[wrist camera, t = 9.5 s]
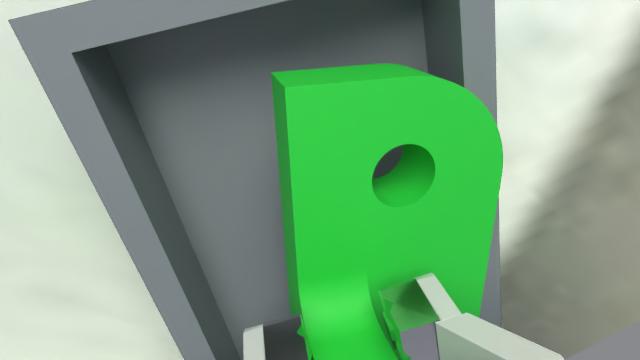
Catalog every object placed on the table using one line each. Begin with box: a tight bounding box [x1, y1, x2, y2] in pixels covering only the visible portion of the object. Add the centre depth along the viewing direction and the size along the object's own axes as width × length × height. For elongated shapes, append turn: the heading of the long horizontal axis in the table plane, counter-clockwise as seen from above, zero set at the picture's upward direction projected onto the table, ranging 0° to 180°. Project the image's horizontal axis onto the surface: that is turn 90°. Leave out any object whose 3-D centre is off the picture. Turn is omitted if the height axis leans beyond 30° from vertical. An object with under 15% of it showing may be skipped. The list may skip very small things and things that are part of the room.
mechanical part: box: [271, 64, 503, 360], centre depth 11 cm, size 12×6×8 cm, turn 2°
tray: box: [8, 0, 501, 360], centre depth 15 cm, size 12×17×4 cm
